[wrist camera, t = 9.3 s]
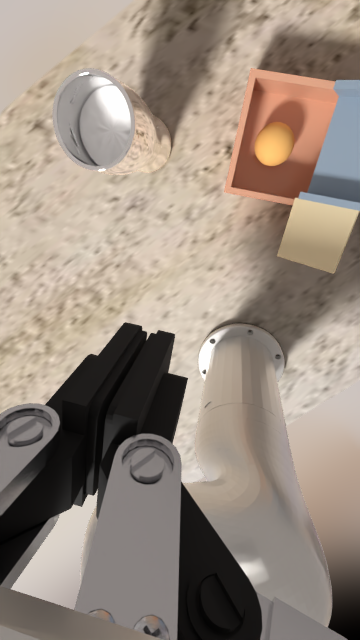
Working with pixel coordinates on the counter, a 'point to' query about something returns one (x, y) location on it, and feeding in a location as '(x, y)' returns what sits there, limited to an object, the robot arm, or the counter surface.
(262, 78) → the shallow terracotta crate
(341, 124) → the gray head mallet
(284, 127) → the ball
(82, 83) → the beer glass
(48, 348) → the counter surface
